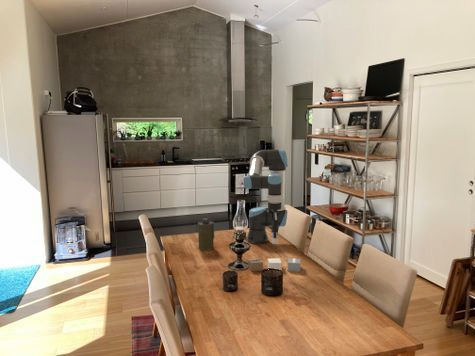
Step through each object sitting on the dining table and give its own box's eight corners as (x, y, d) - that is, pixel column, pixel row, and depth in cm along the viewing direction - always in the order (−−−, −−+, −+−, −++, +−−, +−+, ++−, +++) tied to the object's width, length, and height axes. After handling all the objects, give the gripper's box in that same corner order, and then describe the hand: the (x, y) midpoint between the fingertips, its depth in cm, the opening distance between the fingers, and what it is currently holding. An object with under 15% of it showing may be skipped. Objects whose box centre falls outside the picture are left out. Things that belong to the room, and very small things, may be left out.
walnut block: (247, 267, 222) (247, 258, 221) (259, 265, 224) (259, 257, 223) (250, 271, 215) (250, 262, 215) (262, 270, 217) (262, 261, 216)
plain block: (267, 266, 222) (267, 258, 221) (279, 266, 222) (279, 258, 222) (269, 271, 215) (269, 262, 214) (281, 271, 215) (281, 262, 215)
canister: (195, 249, 253) (195, 220, 250) (201, 244, 263) (201, 216, 260) (211, 251, 250) (210, 221, 247) (216, 246, 259) (216, 217, 257)
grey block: (288, 266, 222) (288, 258, 221) (300, 267, 221) (300, 258, 220) (287, 271, 215) (287, 262, 214) (300, 271, 214) (300, 263, 213)
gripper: (266, 200, 219) (266, 239, 222) (269, 204, 206) (269, 246, 209) (279, 199, 219) (279, 239, 223) (283, 204, 207) (282, 246, 210)
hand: (274, 243), depth 216 cm, fingers closed
